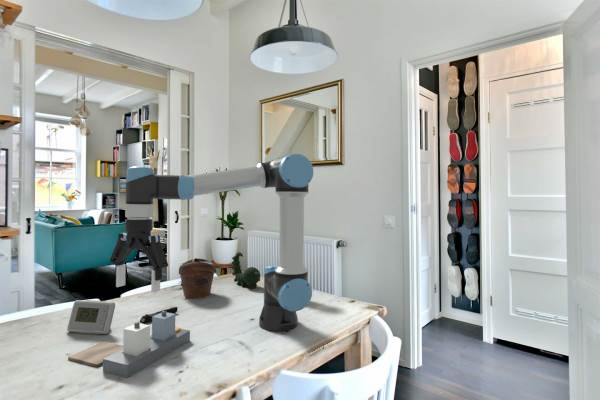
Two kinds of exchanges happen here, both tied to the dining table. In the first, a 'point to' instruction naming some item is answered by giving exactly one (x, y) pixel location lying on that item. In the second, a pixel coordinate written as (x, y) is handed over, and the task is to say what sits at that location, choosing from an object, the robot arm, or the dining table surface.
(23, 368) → the dining table surface
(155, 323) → the block
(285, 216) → the robot arm
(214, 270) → the brown flower pot
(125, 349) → the block
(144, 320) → the electric trimmer
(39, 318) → the dining table surface
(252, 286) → the toy figurine
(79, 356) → the walnut mat
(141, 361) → the grey long flat block
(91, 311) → the digital clock
